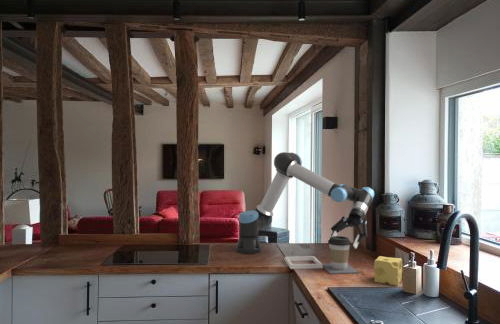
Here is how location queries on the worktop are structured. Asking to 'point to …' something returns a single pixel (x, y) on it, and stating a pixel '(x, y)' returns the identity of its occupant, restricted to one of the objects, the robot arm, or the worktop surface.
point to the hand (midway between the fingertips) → (342, 244)
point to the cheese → (388, 270)
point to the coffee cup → (339, 252)
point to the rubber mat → (333, 271)
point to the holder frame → (303, 266)
